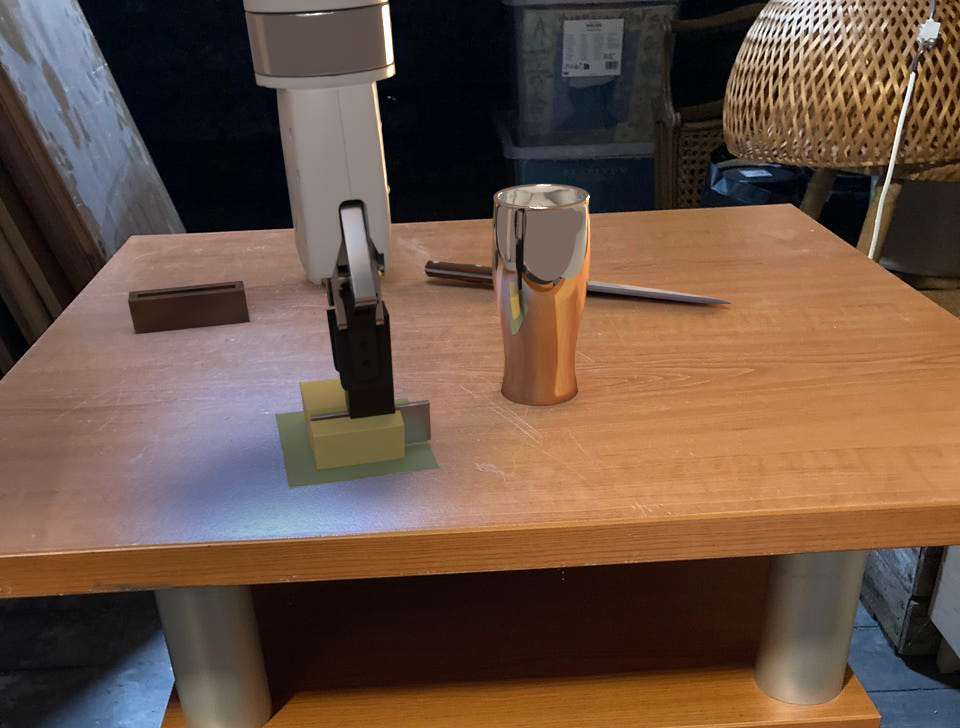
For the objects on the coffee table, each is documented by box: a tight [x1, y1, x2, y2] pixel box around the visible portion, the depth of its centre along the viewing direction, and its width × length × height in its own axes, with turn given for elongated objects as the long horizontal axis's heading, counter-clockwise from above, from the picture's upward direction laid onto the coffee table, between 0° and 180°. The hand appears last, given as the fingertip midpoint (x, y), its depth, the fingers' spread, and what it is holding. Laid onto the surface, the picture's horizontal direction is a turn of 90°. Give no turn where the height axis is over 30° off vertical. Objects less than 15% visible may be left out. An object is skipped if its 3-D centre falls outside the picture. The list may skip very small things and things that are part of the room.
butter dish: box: [275, 397, 440, 490], centre depth 71 cm, size 10×12×1 cm
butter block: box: [299, 377, 348, 451], centre depth 71 cm, size 6×5×3 cm
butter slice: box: [310, 410, 405, 470], centre depth 66 cm, size 6×2×3 cm, turn 104°
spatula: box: [310, 299, 432, 444], centre depth 65 cm, size 8×2×10 cm, turn 104°
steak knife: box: [424, 260, 732, 305], centre depth 98 cm, size 5×31×2 cm, turn 71°
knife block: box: [127, 280, 251, 334], centre depth 93 cm, size 10×3×3 cm, turn 104°
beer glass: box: [491, 183, 591, 407], centre depth 72 cm, size 7×7×15 cm
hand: (362, 374), depth 64 cm, fingers closed on spatula, 2 cm apart
